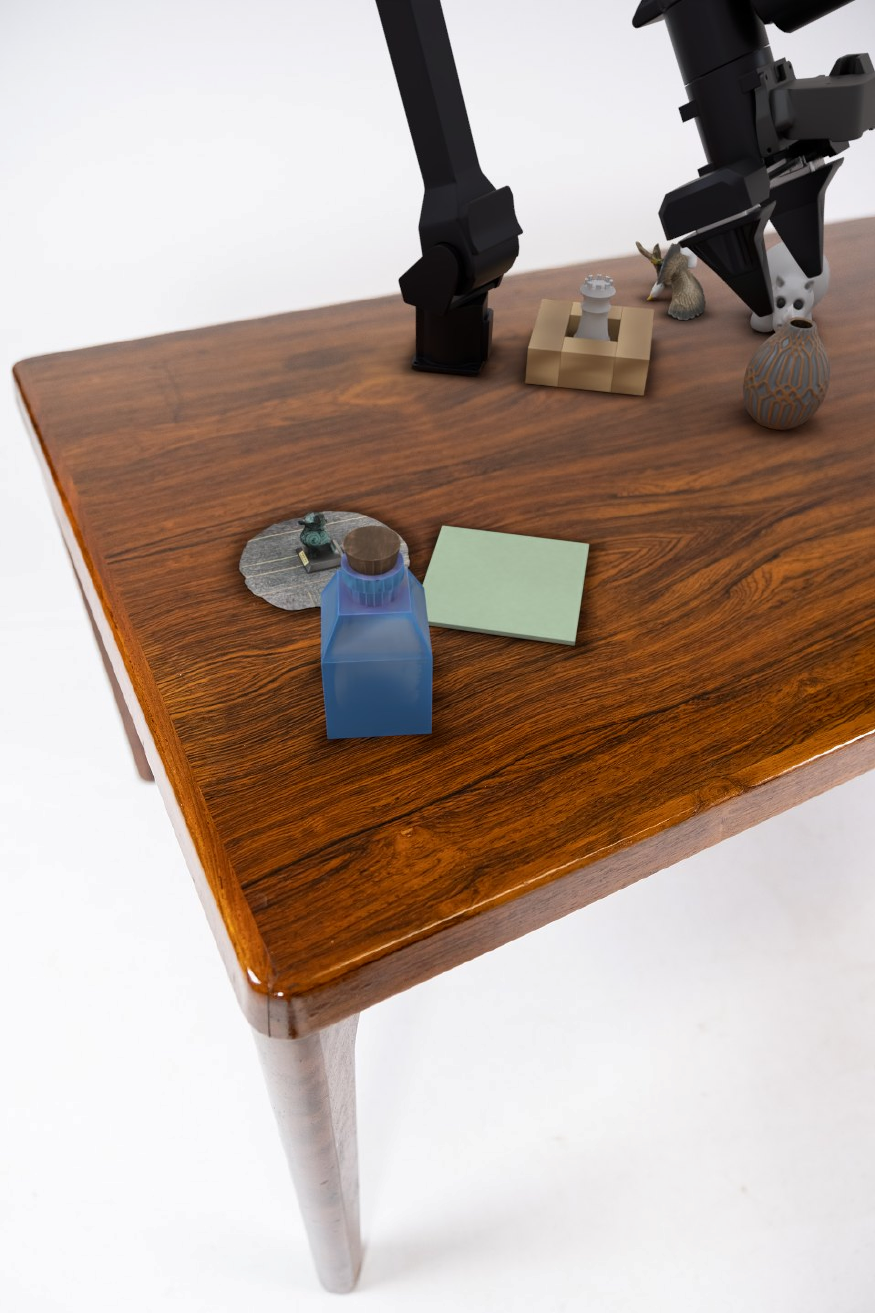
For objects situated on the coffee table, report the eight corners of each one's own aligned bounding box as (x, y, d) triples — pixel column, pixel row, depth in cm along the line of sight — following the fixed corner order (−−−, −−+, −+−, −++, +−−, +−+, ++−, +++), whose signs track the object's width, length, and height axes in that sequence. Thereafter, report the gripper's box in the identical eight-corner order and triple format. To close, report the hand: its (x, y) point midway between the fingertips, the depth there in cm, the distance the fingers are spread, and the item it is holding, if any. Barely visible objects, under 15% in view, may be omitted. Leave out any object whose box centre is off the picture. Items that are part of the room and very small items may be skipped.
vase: (819, 443, 86) (849, 345, 80) (736, 433, 87) (759, 336, 81) (813, 403, 91) (841, 309, 85) (735, 395, 92) (757, 301, 86)
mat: (411, 623, 68) (411, 618, 68) (442, 529, 76) (442, 525, 76) (574, 646, 67) (575, 641, 66) (588, 548, 75) (589, 543, 74)
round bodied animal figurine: (736, 358, 97) (756, 270, 92) (744, 307, 106) (763, 224, 100) (813, 369, 96) (838, 280, 90) (815, 317, 104) (839, 233, 99)
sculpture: (206, 573, 72) (245, 467, 72) (284, 592, 80) (320, 497, 79) (332, 633, 67) (375, 519, 66) (402, 646, 75) (442, 545, 74)
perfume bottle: (327, 667, 65) (314, 511, 57) (423, 663, 65) (424, 507, 57) (327, 738, 60) (313, 580, 52) (431, 733, 61) (433, 575, 53)
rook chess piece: (616, 356, 97) (628, 273, 92) (607, 377, 94) (618, 292, 89) (571, 348, 98) (580, 266, 93) (560, 369, 95) (568, 285, 90)
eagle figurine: (612, 276, 109) (640, 294, 101) (653, 214, 106) (684, 228, 98) (666, 312, 112) (696, 333, 104) (706, 253, 109) (740, 270, 101)
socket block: (525, 383, 93) (527, 347, 91) (539, 332, 101) (542, 298, 98) (643, 395, 92) (649, 359, 89) (648, 343, 99) (654, 308, 97)
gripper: (788, 27, 56) (860, 302, 61) (894, -13, 67) (948, 222, 73) (620, 113, 64) (697, 349, 69) (741, 64, 75) (799, 271, 81)
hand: (792, 294), depth 73 cm, fingers open, 9 cm apart
